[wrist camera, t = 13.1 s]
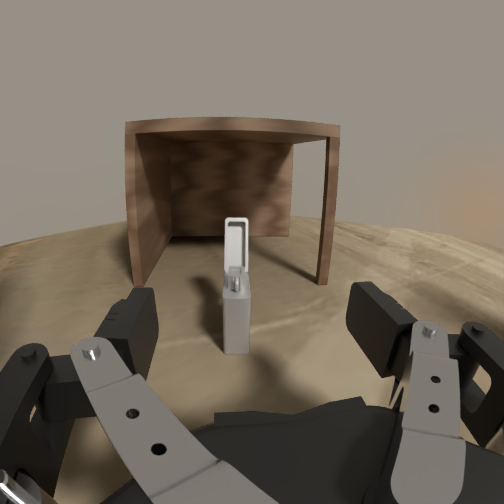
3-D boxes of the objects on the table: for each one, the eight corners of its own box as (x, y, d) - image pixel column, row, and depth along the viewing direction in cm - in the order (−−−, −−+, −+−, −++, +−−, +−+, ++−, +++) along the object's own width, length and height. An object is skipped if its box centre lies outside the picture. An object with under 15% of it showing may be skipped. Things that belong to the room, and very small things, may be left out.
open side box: (134, 286, 28) (125, 122, 23) (167, 234, 47) (165, 135, 42) (327, 284, 30) (340, 125, 25) (287, 234, 49) (292, 137, 44)
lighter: (249, 354, 19) (253, 239, 16) (223, 354, 19) (221, 239, 16) (245, 304, 26) (247, 214, 23) (225, 304, 26) (225, 214, 23)
